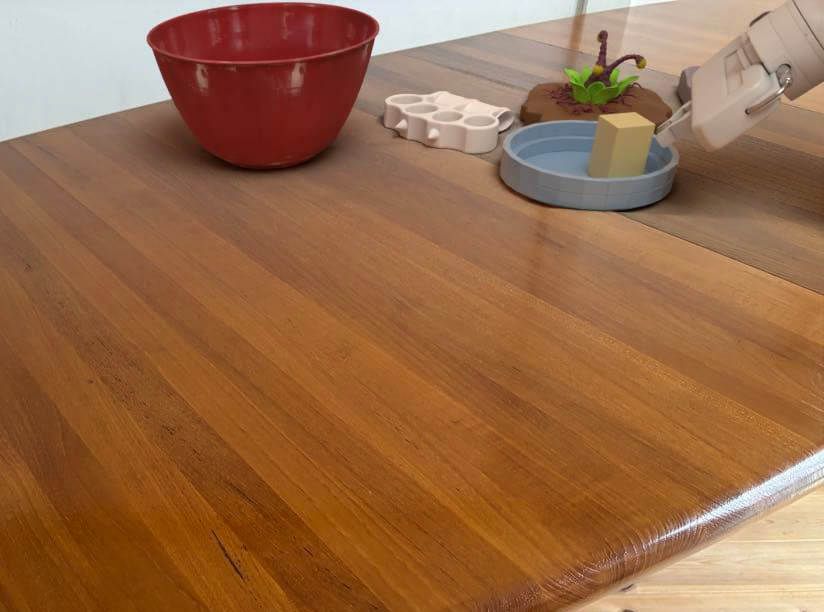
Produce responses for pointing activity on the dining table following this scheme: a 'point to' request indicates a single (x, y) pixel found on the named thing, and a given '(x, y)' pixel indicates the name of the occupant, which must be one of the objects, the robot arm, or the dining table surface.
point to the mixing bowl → (265, 77)
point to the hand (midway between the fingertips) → (658, 139)
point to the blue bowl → (579, 169)
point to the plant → (595, 94)
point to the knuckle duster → (447, 121)
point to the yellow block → (620, 146)
